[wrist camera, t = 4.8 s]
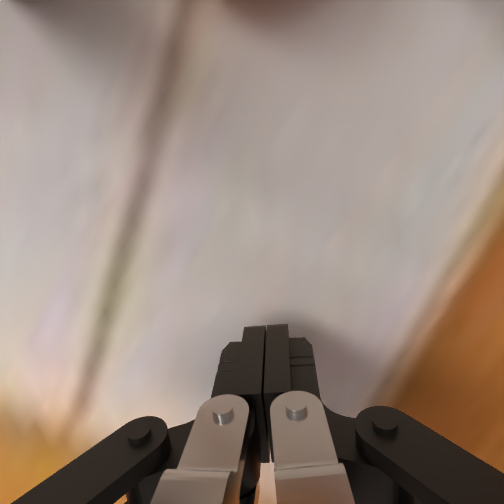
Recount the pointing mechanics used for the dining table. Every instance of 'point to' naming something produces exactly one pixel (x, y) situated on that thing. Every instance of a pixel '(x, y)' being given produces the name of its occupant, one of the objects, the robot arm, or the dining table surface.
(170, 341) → the dining table surface
